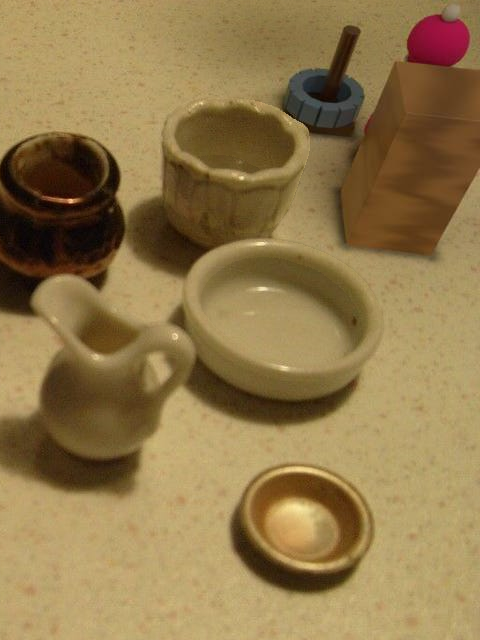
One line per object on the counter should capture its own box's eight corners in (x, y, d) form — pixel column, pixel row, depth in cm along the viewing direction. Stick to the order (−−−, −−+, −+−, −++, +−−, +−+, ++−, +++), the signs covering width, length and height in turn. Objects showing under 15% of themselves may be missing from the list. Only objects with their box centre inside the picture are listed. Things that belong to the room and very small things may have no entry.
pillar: (420, 202, 98) (488, 70, 85) (430, 256, 93) (504, 124, 80) (340, 192, 99) (394, 60, 86) (345, 245, 94) (405, 112, 80)
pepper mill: (350, 141, 105) (413, -16, 90) (410, 148, 105) (485, -10, 89) (355, 178, 101) (422, 19, 85) (418, 186, 100) (498, 27, 85)
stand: (346, 104, 110) (380, 17, 101) (351, 137, 106) (386, 49, 97) (291, 98, 111) (319, 10, 102) (293, 130, 107) (322, 42, 97)
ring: (352, 88, 110) (359, 71, 108) (361, 131, 104) (369, 113, 102) (281, 82, 111) (286, 65, 109) (287, 124, 105) (292, 106, 103)
